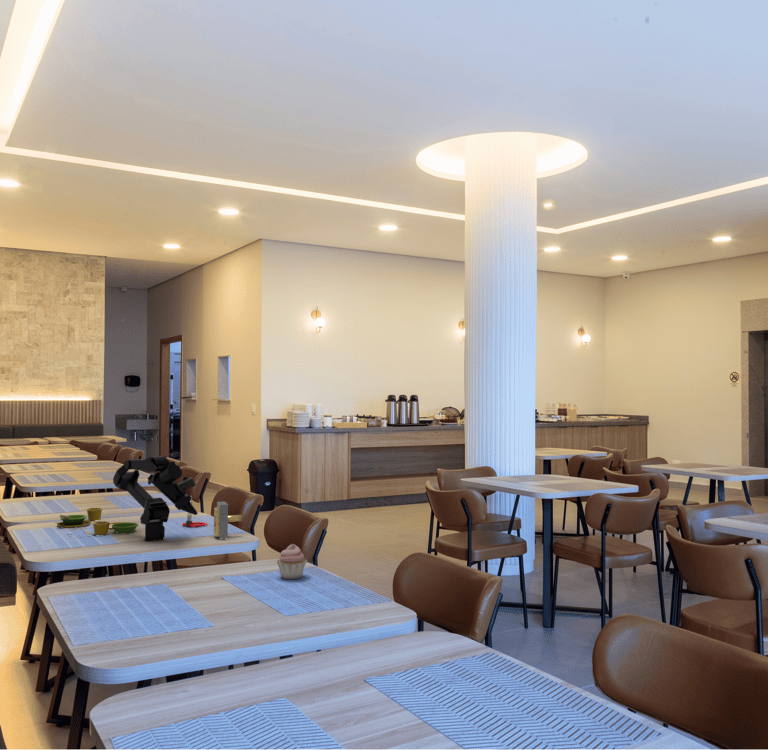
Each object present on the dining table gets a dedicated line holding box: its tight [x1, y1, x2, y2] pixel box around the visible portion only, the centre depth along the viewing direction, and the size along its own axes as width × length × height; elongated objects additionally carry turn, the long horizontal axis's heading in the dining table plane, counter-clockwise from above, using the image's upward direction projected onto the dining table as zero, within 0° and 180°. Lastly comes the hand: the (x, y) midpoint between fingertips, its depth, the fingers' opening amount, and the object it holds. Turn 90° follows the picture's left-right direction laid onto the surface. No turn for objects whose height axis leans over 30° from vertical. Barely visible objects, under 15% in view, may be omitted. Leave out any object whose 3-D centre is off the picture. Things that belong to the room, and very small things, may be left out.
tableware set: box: [54, 507, 139, 539], centre depth 290 cm, size 41×28×6 cm
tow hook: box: [182, 495, 208, 529], centre depth 296 cm, size 8×13×9 cm
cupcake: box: [276, 543, 308, 580], centre depth 214 cm, size 9×9×10 cm
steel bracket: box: [216, 501, 229, 539], centre depth 272 cm, size 3×8×13 cm, turn 21°
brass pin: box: [213, 507, 243, 538], centre depth 273 cm, size 10×6×10 cm, turn 111°
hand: (196, 514), depth 269 cm, fingers closed
